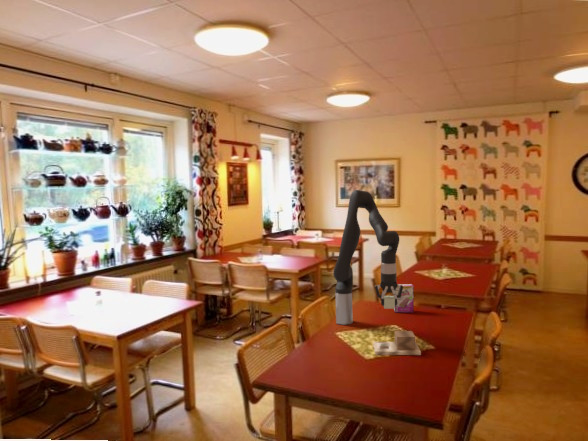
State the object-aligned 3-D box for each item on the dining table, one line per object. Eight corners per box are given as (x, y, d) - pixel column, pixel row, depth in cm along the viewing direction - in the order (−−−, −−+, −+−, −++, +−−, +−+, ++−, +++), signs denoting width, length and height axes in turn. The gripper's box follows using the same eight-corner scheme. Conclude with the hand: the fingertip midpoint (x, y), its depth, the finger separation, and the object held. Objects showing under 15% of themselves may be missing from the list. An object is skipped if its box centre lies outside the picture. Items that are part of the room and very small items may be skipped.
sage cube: (384, 308, 202) (384, 298, 202) (383, 305, 207) (383, 295, 206) (394, 308, 201) (394, 298, 201) (393, 305, 206) (393, 295, 206)
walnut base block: (397, 349, 187) (397, 336, 187) (394, 343, 195) (394, 330, 195) (415, 349, 186) (415, 336, 186) (412, 343, 194) (412, 330, 194)
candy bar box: (395, 312, 248) (394, 285, 246) (393, 310, 253) (393, 284, 251) (414, 312, 246) (413, 285, 245) (412, 310, 251) (412, 283, 250)
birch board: (375, 354, 186) (375, 351, 186) (373, 344, 198) (373, 341, 198) (420, 355, 184) (420, 351, 184) (415, 344, 196) (415, 341, 196)
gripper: (402, 270, 206) (402, 303, 207) (373, 270, 207) (373, 303, 209) (404, 273, 198) (405, 308, 200) (374, 273, 200) (374, 308, 201)
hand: (389, 305), depth 204 cm, fingers closed on sage cube, 5 cm apart
